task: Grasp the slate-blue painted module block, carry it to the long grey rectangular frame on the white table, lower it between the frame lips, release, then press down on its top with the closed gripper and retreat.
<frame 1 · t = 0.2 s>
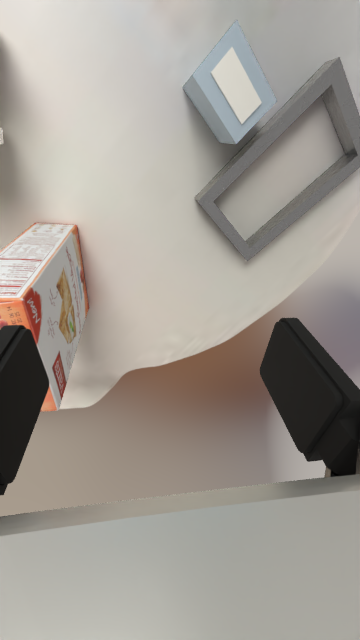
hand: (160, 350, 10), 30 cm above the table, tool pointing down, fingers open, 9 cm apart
grey rectangular frame: (276, 176, 35), on the table
cracker box: (66, 268, 39), on the table
module: (218, 97, 29), on the table
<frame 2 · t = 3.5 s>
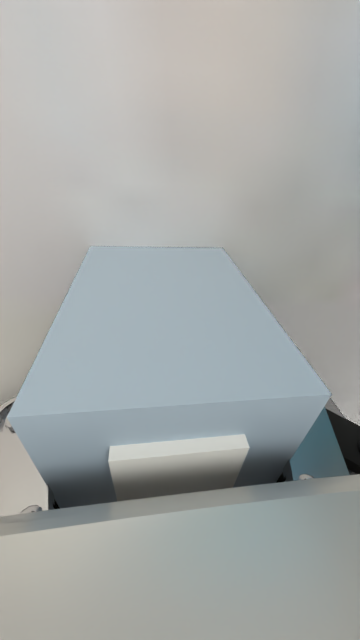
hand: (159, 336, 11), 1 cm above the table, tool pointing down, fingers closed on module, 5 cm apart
module: (158, 321, 11), on the table, touching gripper
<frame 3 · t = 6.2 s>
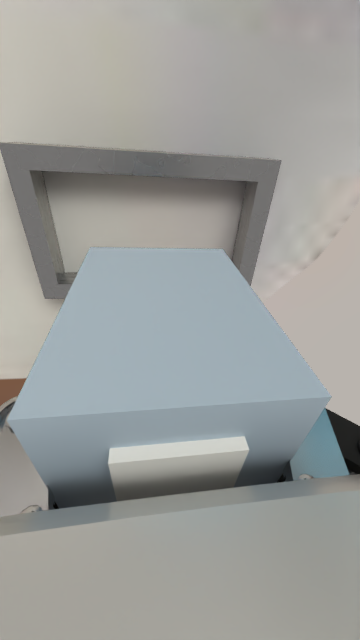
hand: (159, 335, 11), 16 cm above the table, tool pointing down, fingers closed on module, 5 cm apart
grey rectangular frame: (150, 228, 23), on the table
module: (158, 322, 11), point 15 cm above the table, touching gripper
when the fingers open (2 cm above the table, at t = 9.0 s): module stays where it is, resting in grey rectangular frame.
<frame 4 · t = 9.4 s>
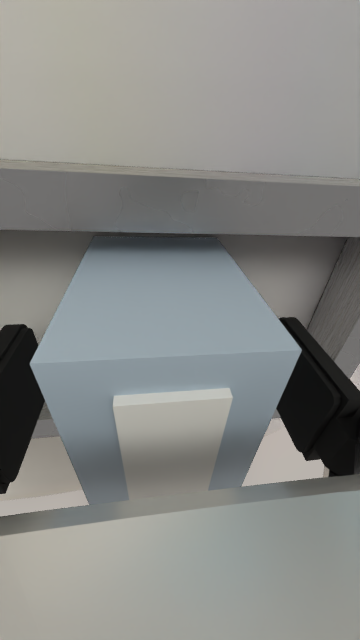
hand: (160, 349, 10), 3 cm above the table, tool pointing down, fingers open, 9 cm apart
grey rectangular frame: (157, 311, 12), on the table
module: (157, 308, 12), resting in grey rectangular frame
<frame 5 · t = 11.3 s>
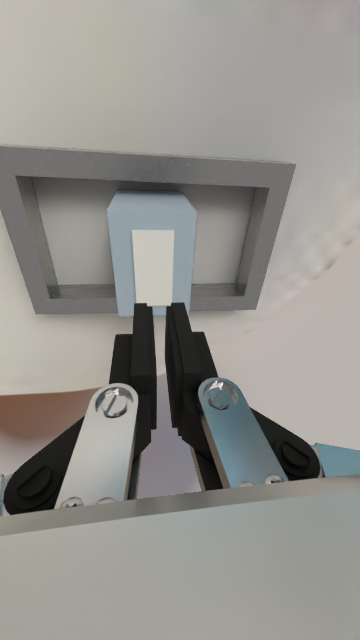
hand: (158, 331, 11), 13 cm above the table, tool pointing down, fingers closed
grey rectangular frame: (150, 237, 21), on the table
module: (150, 236, 21), resting in grey rectangular frame
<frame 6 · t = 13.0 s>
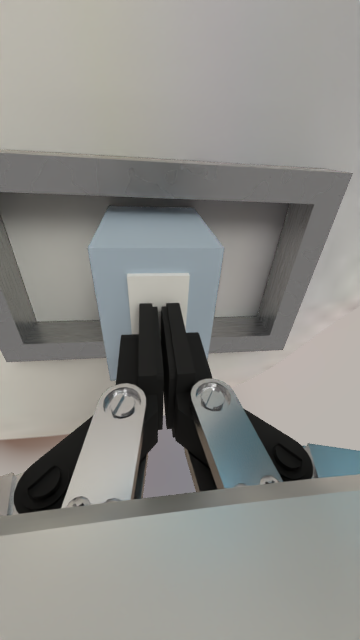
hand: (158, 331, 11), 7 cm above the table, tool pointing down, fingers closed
grey rectangular frame: (153, 264, 17), on the table
module: (153, 262, 17), resting in grey rectangular frame
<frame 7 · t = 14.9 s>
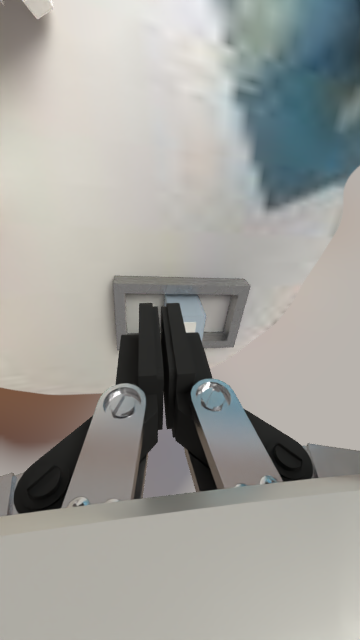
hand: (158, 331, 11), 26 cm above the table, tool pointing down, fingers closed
grey rectangular frame: (178, 310, 41), on the table
module: (178, 310, 41), resting in grey rectangular frame
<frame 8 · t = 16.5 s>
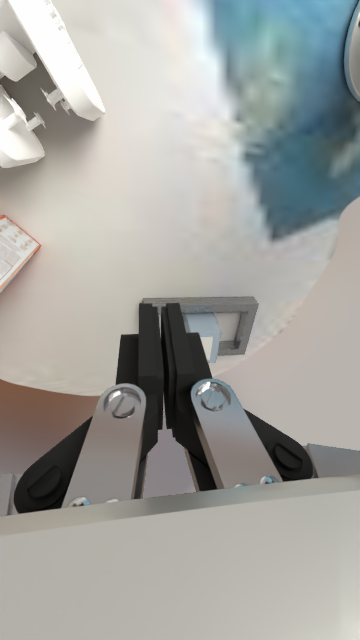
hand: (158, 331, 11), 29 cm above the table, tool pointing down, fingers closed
grey rectangular frame: (196, 324, 48), on the table
module: (196, 323, 48), resting in grey rectangular frame
cable organizer: (26, 57, 25), on the table
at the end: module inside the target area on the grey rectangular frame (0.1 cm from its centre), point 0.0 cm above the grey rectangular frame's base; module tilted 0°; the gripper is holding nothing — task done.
